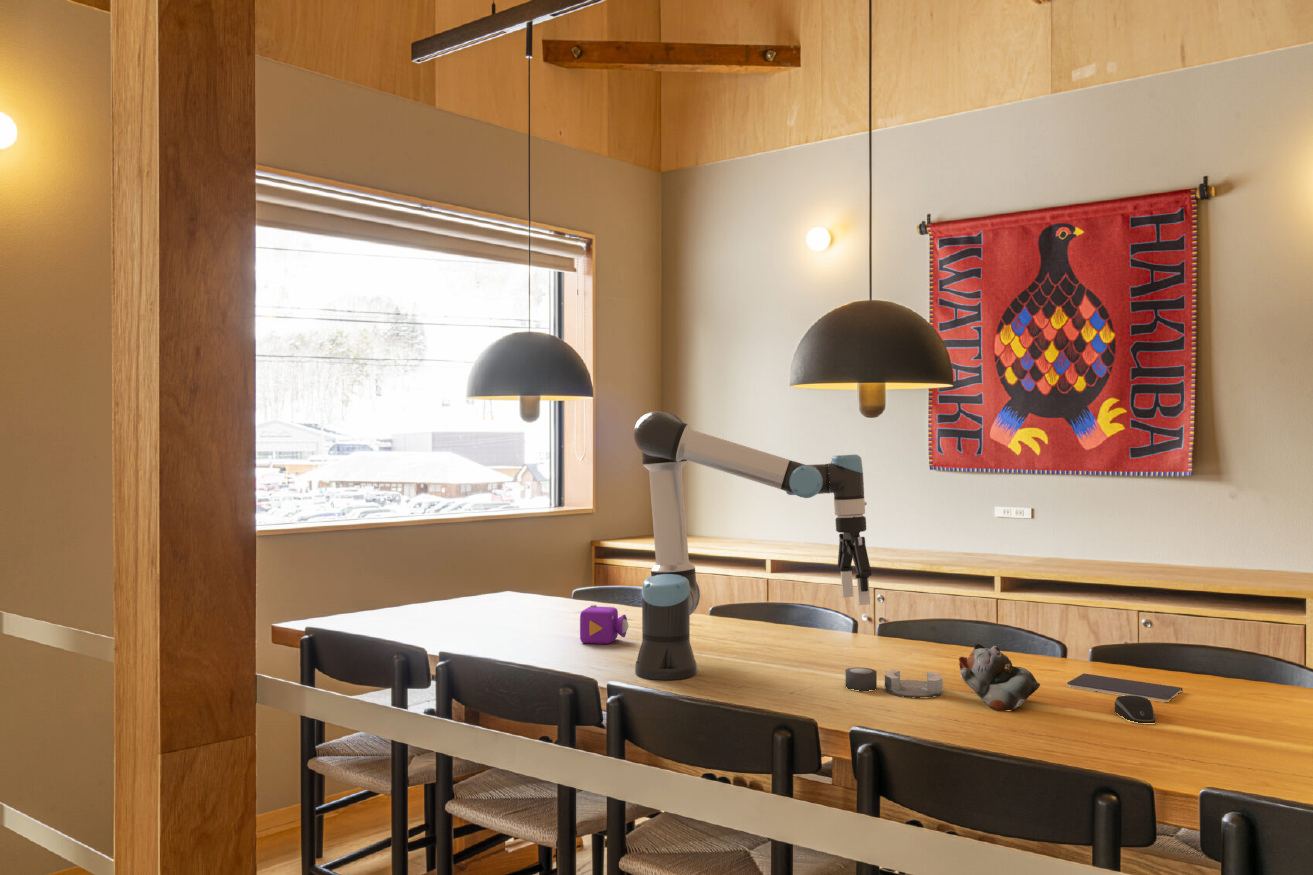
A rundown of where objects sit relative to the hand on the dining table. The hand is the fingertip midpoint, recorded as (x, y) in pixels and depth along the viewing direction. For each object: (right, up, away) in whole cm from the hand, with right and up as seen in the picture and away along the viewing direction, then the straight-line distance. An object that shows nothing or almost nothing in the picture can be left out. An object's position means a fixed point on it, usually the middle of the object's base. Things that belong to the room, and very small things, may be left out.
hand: (855, 600), depth 237 cm
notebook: (+57, -17, -22) cm, 63 cm away
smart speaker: (-3, -17, -20) cm, 26 cm away
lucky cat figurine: (+24, -17, -33) cm, 44 cm away
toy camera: (-65, -18, +33) cm, 75 cm away
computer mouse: (+49, -17, -43) cm, 67 cm away
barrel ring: (+8, -17, -23) cm, 29 cm away
